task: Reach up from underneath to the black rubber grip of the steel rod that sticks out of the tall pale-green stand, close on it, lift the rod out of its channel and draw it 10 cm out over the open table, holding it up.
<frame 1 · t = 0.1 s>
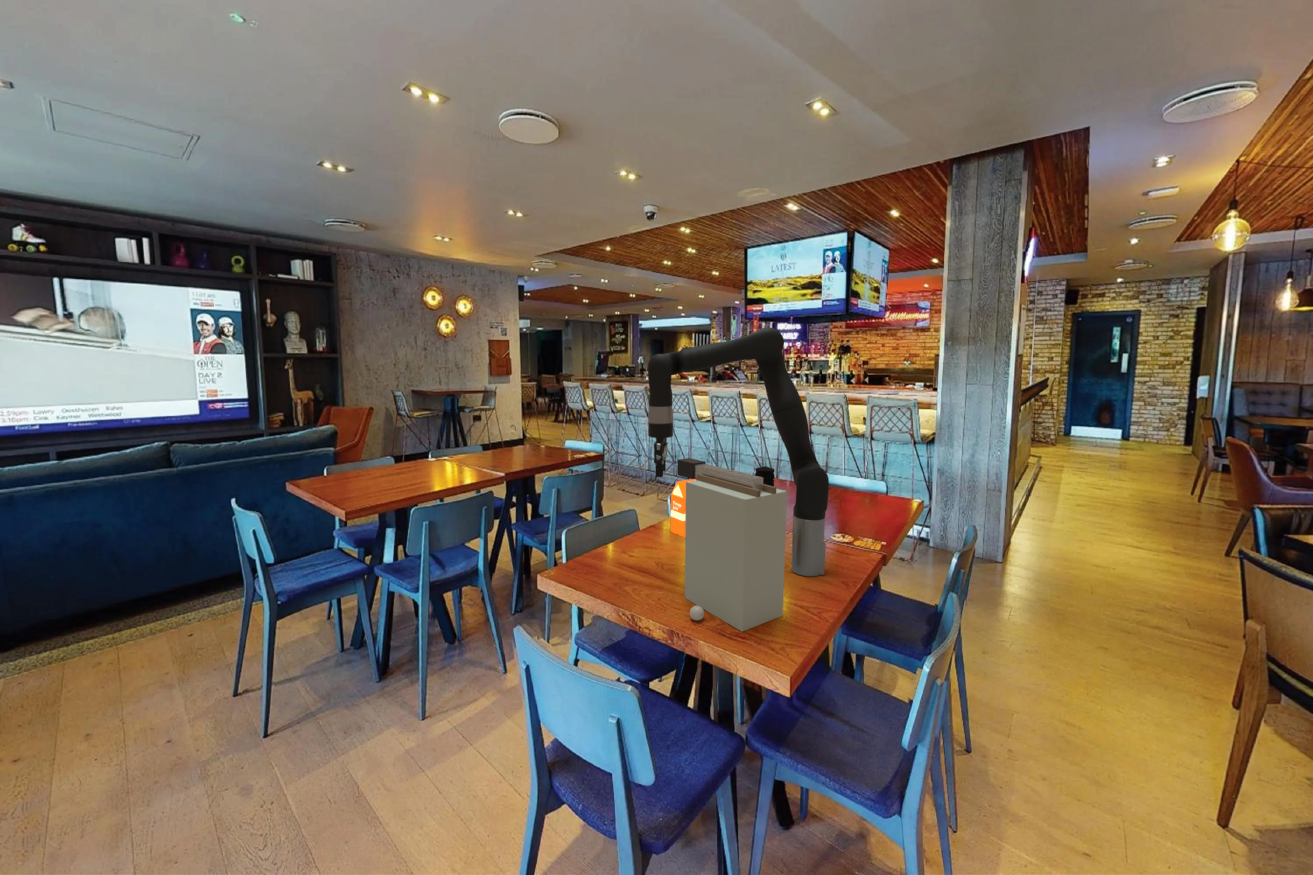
hand: (660, 473, 160), 29 cm above the table, tool pointing down, fingers open, 8 cm apart
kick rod: (726, 484, 135), point 32 cm above the table, touching stand
stand: (731, 606, 137), on the table
handle grip: (762, 538, 191), on the table
white ball: (696, 619, 130), on the table
orange juice: (686, 532, 197), on the table
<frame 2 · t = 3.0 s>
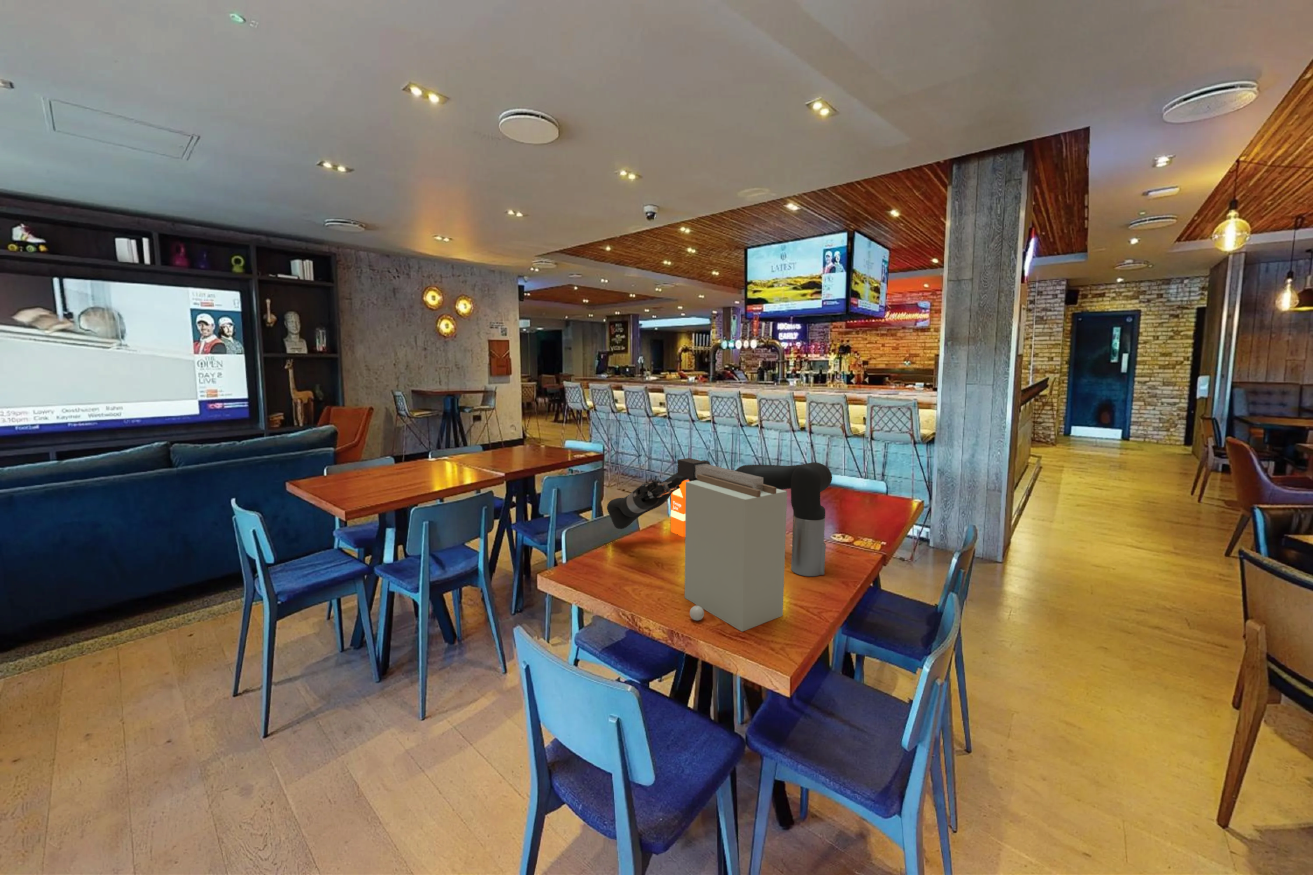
hand: (668, 482, 156), 28 cm above the table, tool pointing upward, fingers open, 8 cm apart
nothing on the table moved.
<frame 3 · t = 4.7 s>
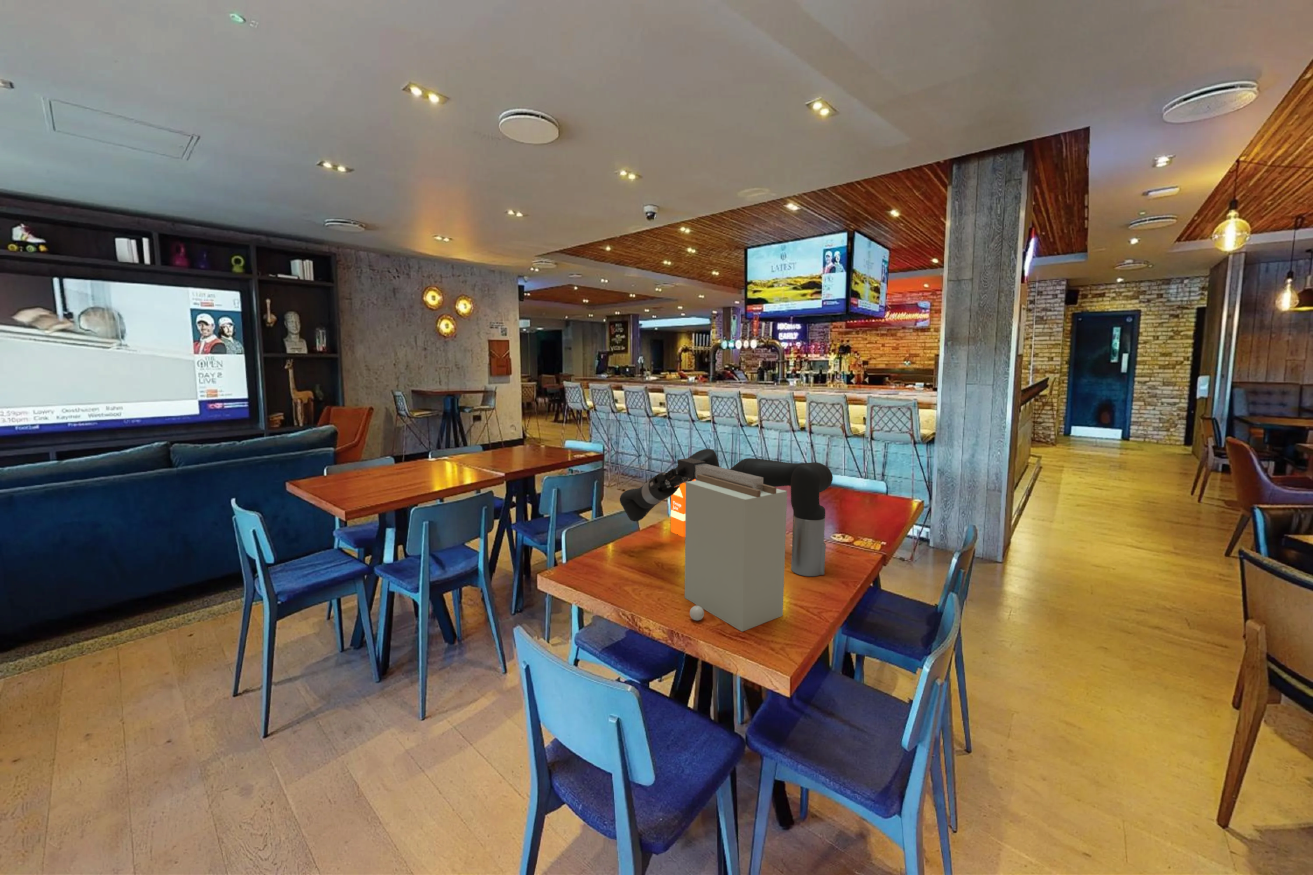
hand: (687, 470, 148), 33 cm above the table, tool pointing upward, fingers open, 8 cm apart
nothing on the table moved.
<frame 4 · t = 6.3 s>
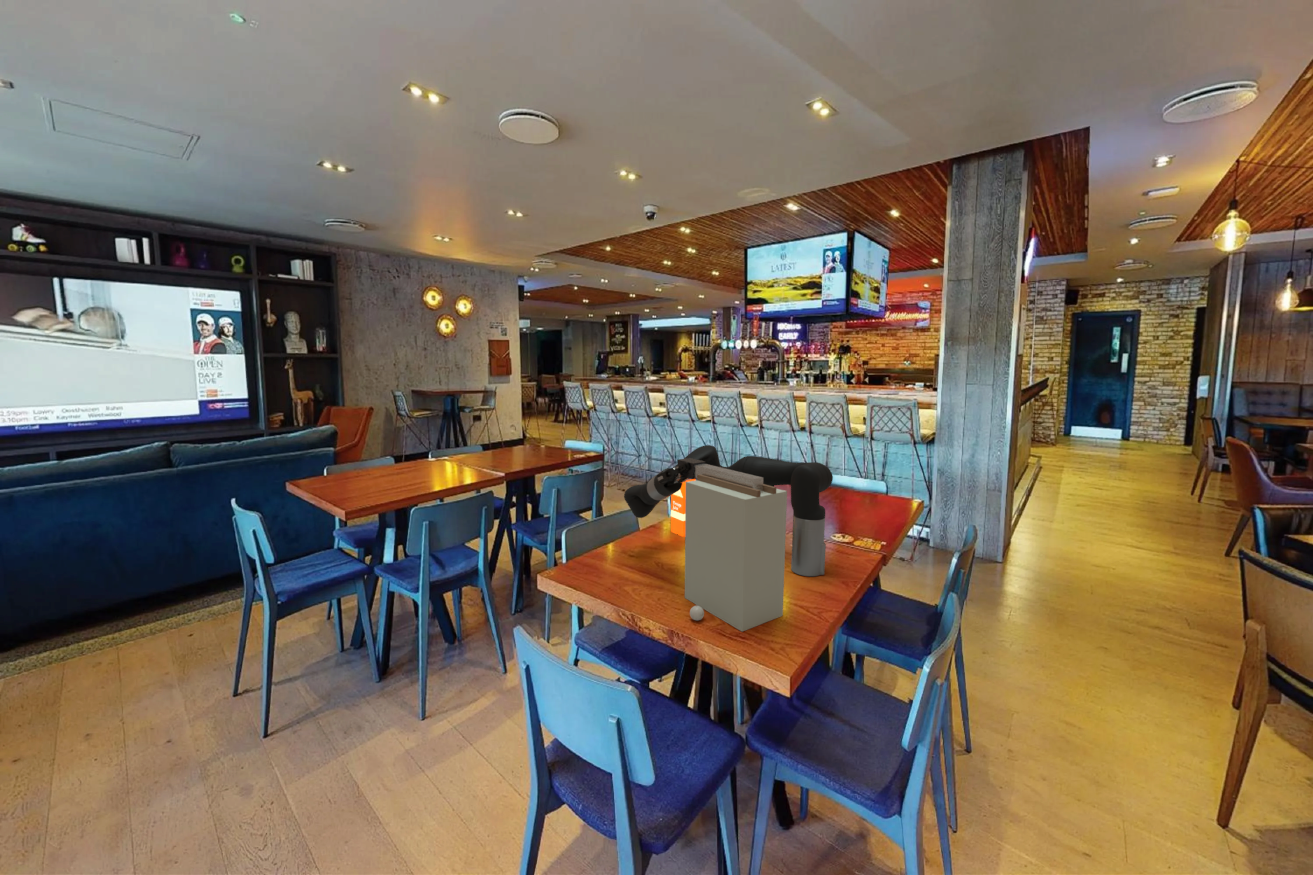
hand: (695, 464, 145), 35 cm above the table, tool pointing upward, fingers closed on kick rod, 4 cm apart
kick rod: (726, 484, 135), point 32 cm above the table, touching gripper, stand
everything else where it was.
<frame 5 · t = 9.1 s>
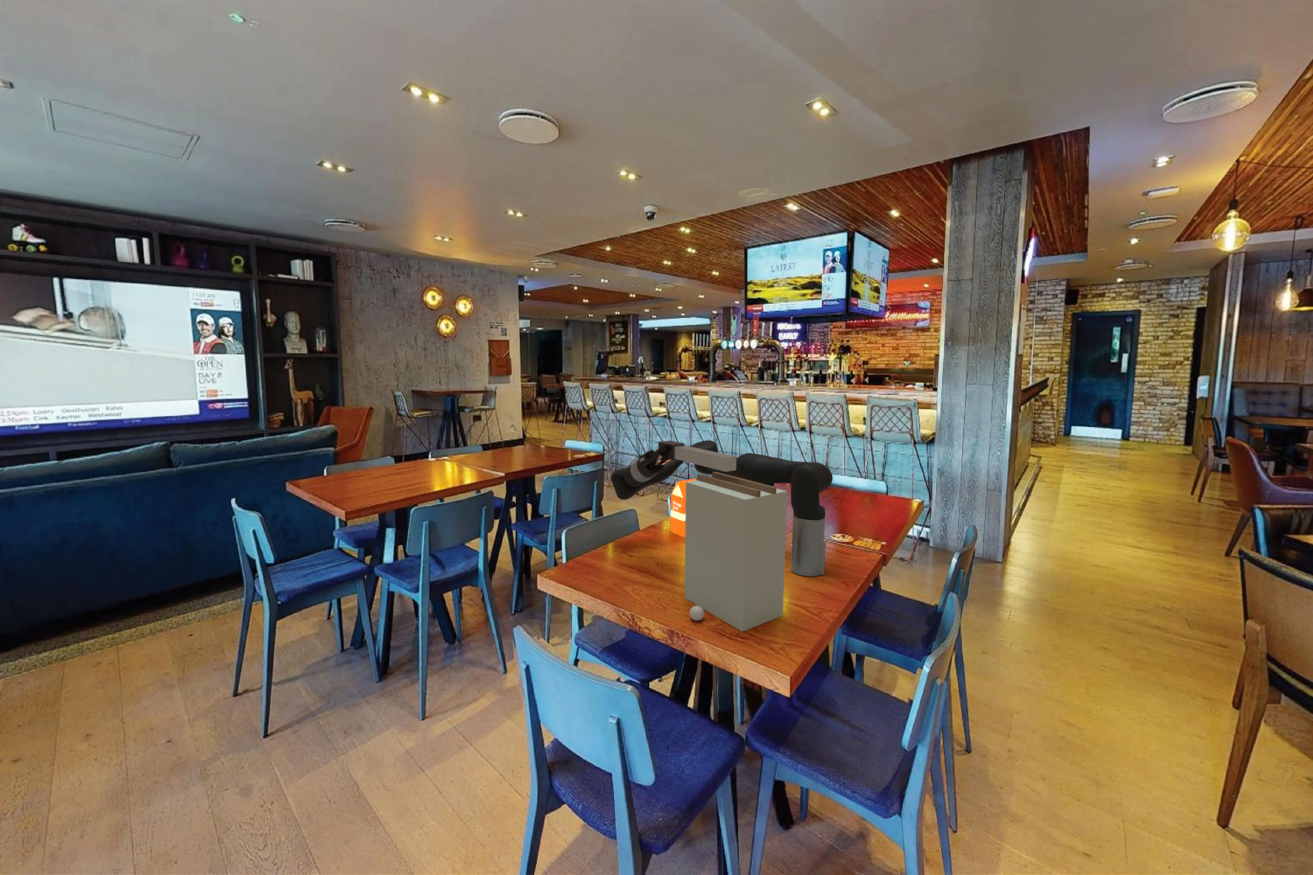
hand: (675, 446, 152), 39 cm above the table, tool pointing upward, fingers closed on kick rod, 4 cm apart
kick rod: (703, 463, 142), point 36 cm above the table, touching gripper
everything else where it was.
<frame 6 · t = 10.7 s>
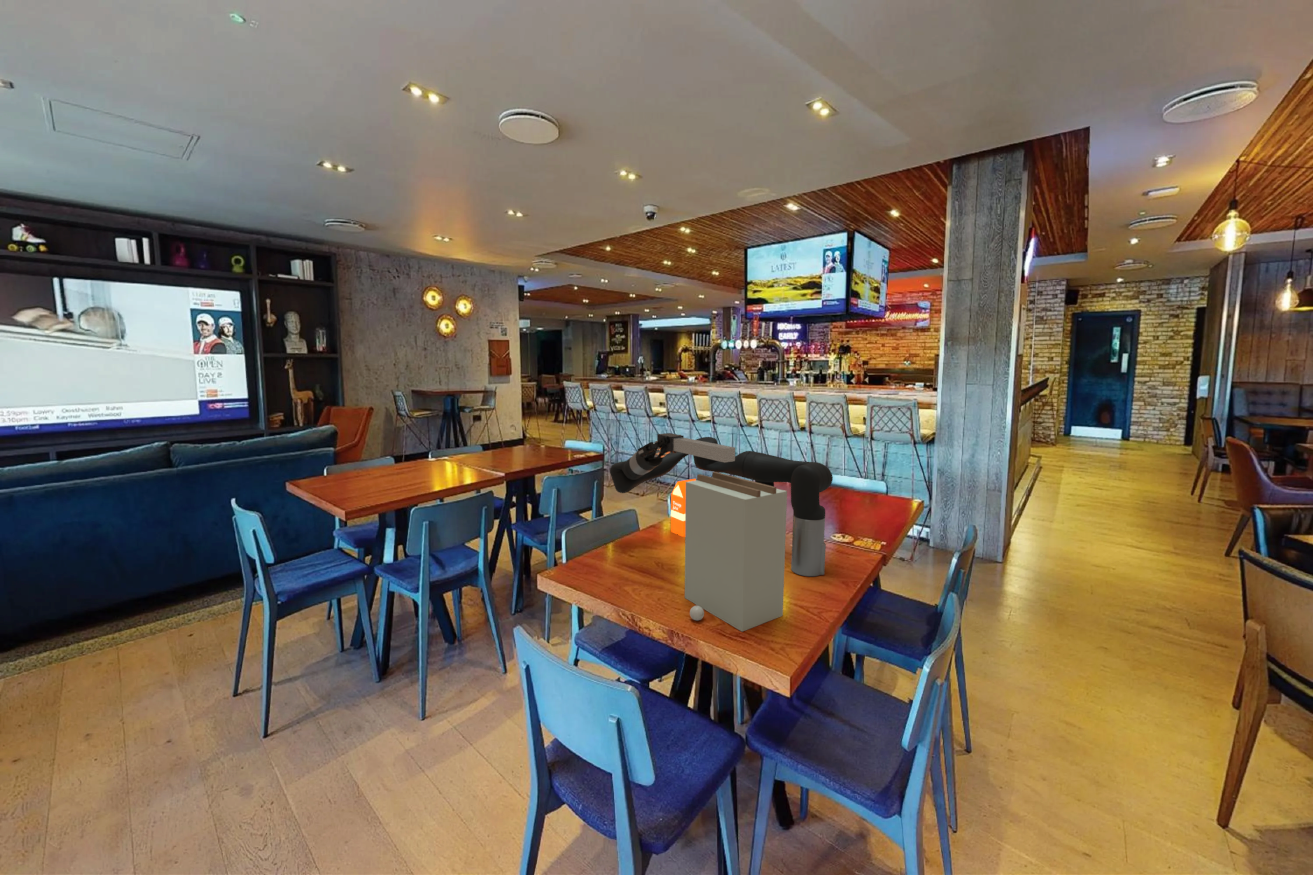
hand: (673, 438, 152), 41 cm above the table, tool pointing upward, fingers closed on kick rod, 4 cm apart
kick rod: (701, 455, 142), point 38 cm above the table, touching gripper
everything else where it was.
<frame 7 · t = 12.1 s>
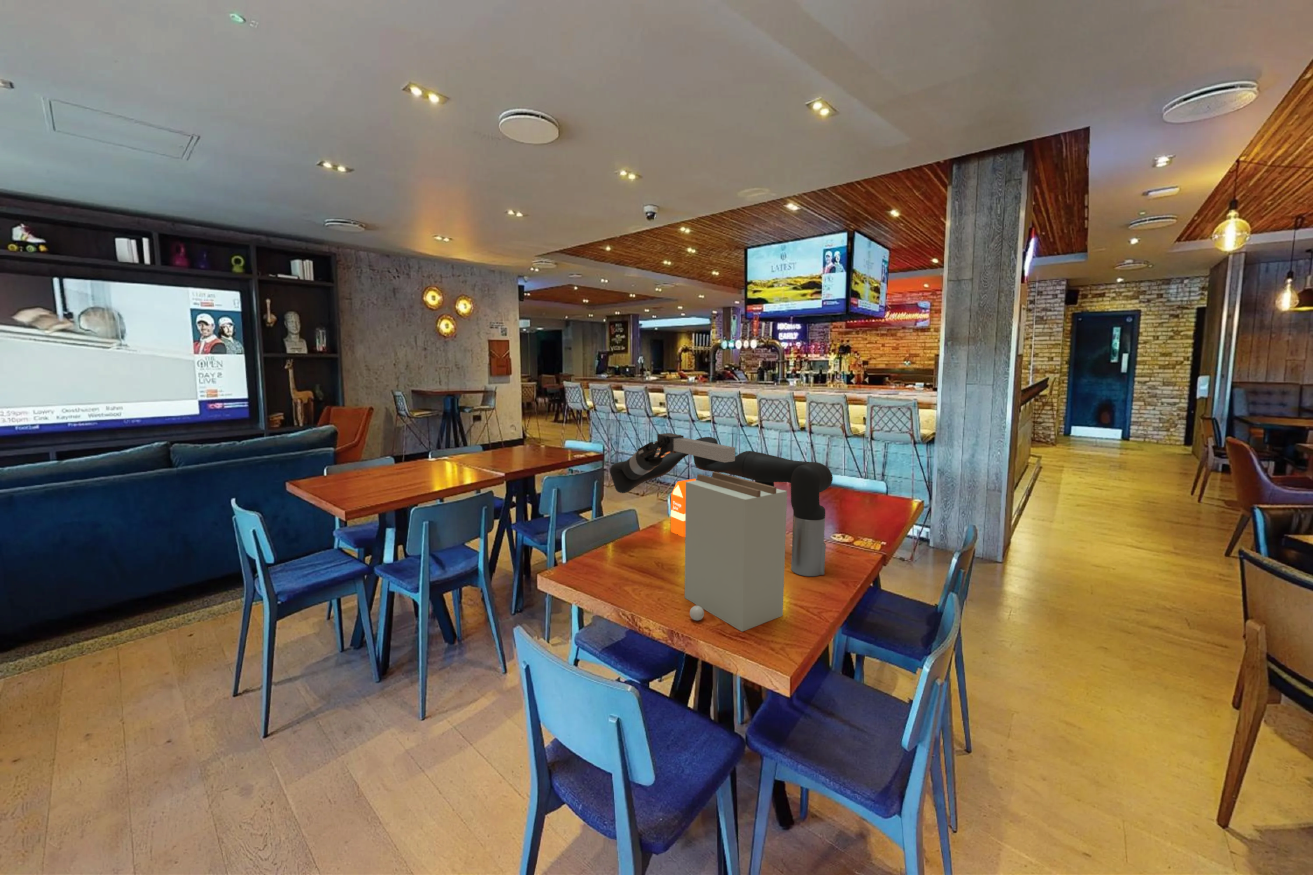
hand: (673, 438, 152), 41 cm above the table, tool pointing upward, fingers closed on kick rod, 4 cm apart
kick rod: (701, 455, 142), point 38 cm above the table, touching gripper
everything else where it was.
at the end: the gripper is holding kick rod; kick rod moved 11.6 cm from its start; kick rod point 38.1 cm above the table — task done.
